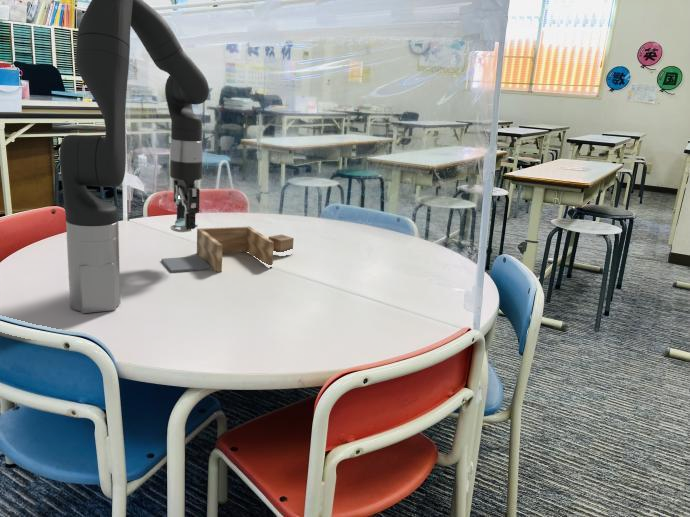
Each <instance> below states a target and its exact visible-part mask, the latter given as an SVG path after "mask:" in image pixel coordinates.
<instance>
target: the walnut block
mask: <svg viewBox="0 0 690 517" xmlns="http://www.w3.org/2000/svg"><path fill="white" fill-rule="evenodd" d="M268 239H270V240H271V241H273V242H274V250H273V251H276V252H284V251H287V250H290V249H293V250H294V237H290V236H288V235H285V234H277V235H270V236H268Z"/></svg>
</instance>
